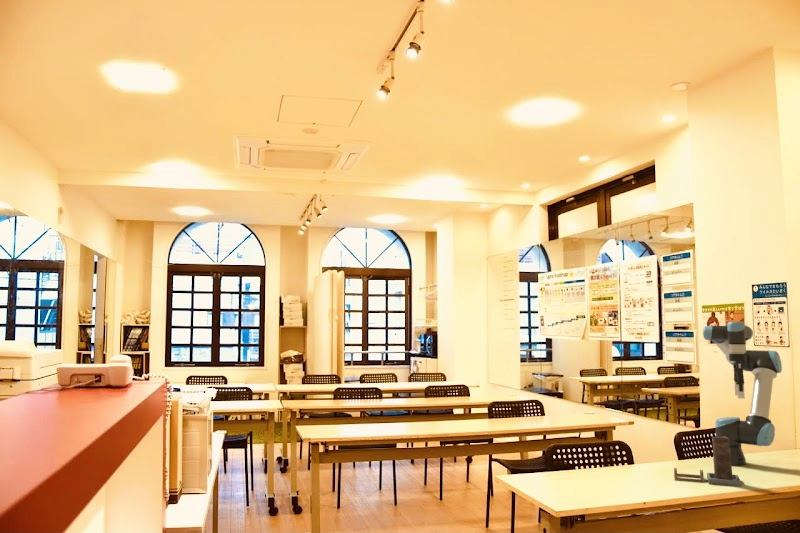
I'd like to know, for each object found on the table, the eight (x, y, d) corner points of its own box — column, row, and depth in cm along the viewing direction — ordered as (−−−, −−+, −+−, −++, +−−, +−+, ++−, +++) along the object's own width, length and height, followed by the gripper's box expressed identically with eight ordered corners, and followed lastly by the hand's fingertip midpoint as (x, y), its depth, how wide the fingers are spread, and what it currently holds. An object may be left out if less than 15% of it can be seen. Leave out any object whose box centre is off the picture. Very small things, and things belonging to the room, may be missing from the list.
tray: (706, 477, 303) (706, 472, 303) (737, 480, 298) (737, 474, 298) (708, 484, 291) (708, 478, 291) (740, 486, 286) (740, 481, 286)
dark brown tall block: (713, 481, 293) (711, 436, 294) (714, 478, 299) (712, 434, 301) (732, 483, 289) (730, 438, 291) (732, 479, 296) (730, 435, 297)
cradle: (674, 475, 308) (673, 466, 308) (702, 477, 303) (702, 468, 303) (674, 480, 298) (674, 471, 299) (704, 482, 293) (703, 473, 294)
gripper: (726, 352, 328) (728, 394, 326) (731, 354, 305) (733, 399, 303) (743, 352, 325) (745, 394, 323) (749, 354, 302) (751, 400, 300)
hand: (739, 397), depth 313 cm, fingers open, 13 cm apart
